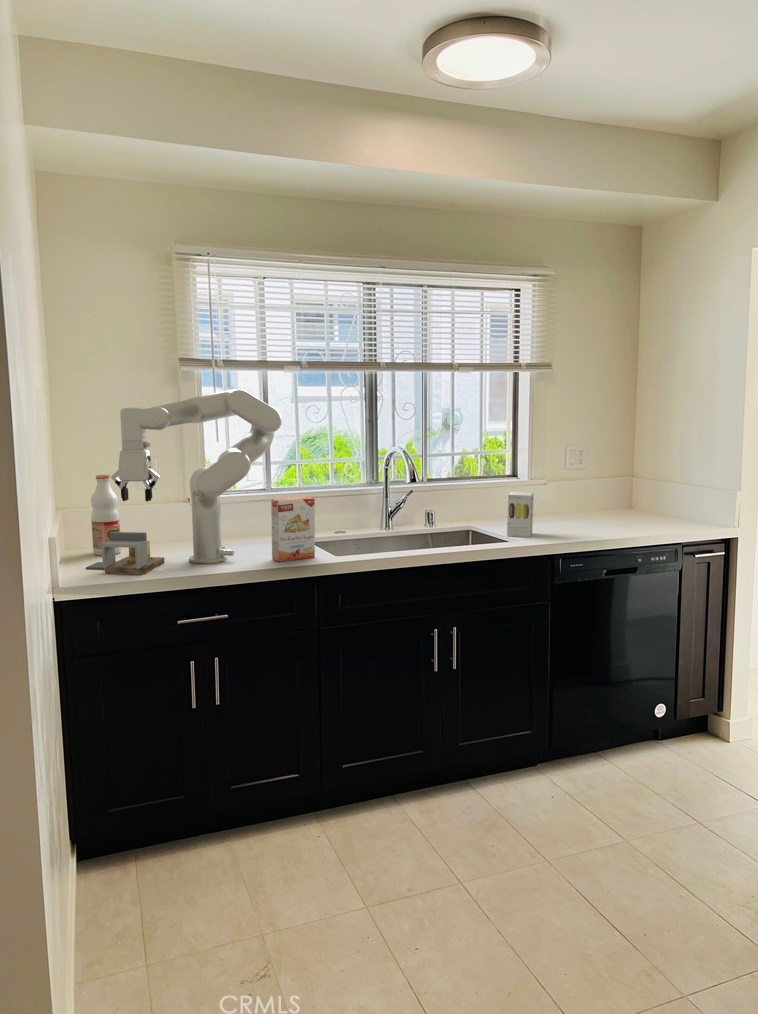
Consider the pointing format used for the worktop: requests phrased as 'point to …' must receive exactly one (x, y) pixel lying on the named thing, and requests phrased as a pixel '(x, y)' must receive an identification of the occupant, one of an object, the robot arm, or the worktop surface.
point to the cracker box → (293, 528)
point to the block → (132, 553)
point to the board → (134, 566)
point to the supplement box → (520, 514)
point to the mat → (96, 566)
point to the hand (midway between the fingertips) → (136, 500)
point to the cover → (125, 540)
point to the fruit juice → (104, 514)
